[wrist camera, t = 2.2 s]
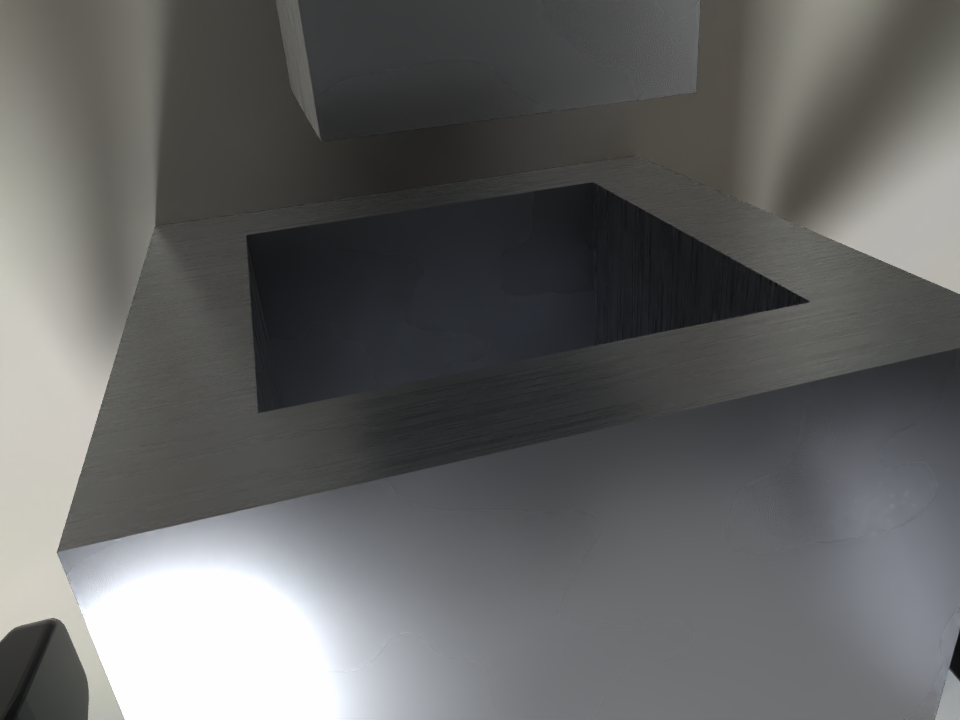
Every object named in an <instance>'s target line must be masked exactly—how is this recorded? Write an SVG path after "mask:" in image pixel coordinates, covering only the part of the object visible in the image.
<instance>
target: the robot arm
mask: <svg viewBox="0 0 960 720" xmlns="http://www.w3.org/2000/svg"><path fill="white" fill-rule="evenodd" d="M949 669H950V671H951V672H952V673H953V674H954V675H955V676H956V678H957V679H958V680H959V681H960V630H959V634H958V637H957V641H956V645H955V648H954V652H953V656H952V659H951V663H950V667H949ZM88 704H89V690H88V682H87V678H86V674H85V671H84V669H83V667H82V664H81V662H80V660H79V657H78V655H77V653H76V650H75V648H74V646H73V643H72V641H71V639H70V636H69V634H68V632H67V629H66V627H65V625H64V624H63V623H62V622H61V621H60V620H58V619H55V618H50V619H46V620H42V621H38V622H34V623H30V624H25V625H21V626H19V627H16V628H14V629H13V630H11V631H10V632H9V633H8V634H7V635H6V636H5V637H4V638H3V639H2V640H1V641H0V720H88Z"/></svg>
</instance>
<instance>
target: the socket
mask: <svg viewBox="0 0 960 720" xmlns="http://www.w3.org/2000/svg"><path fill="white" fill-rule="evenodd" d="M57 554H58V556H59V559H60V561H61V563H62V566H63V568H64V571H65V573H66V576H67V578H68V581H69V583H70V585H71V588H72V590H73V593H74V595H75V598H76V600H77V602H78V605H79V607H80V610H81V612H82V615H83V617H84V620H85V622H86V624H87V627H88V629H89V632H90V634H91V637H92V639H93V642H94V644H95V646H96V649H97V651H98V654H99V656H100V659H101V661H102V663H103V666H104V668H105V671H106V673H107V676H108V678H109V681H110V683H111V685H112V688H113V690H114V693H115V695H116V698H117V700H118V703H119V705H120V707H121V710H122V712H123V715H124V717H125V720H935V718H936V714H937V710H938V707H939V703H940V699H941V696H942V692H943V688H944V685H945V681H946V678H947V674H948V670H949V667H950V663H951V659H952V656H953V652H954V648H955V645H956V641H957V637H958V634H959V630H960V294H958V293H956V292H953V291H951V290H949V289H946V288H944V287H942V286H939V285H937V284H935V283H932V282H930V281H928V280H925V279H923V278H920V277H918V276H916V275H913V274H911V273H909V272H906V271H904V270H902V269H899V268H897V267H895V266H892V265H890V264H888V263H885V262H883V261H881V260H878V259H876V258H874V257H871V256H869V255H867V254H864V253H862V252H860V251H857V250H855V249H853V248H850V247H848V246H846V245H843V244H841V243H839V242H836V241H834V240H832V239H829V238H827V237H825V236H822V235H820V234H818V233H815V232H813V231H811V230H808V229H806V228H804V227H801V226H799V225H797V224H794V223H792V222H790V221H787V220H785V219H783V218H780V217H778V216H776V215H773V214H771V213H769V212H766V211H764V210H762V209H759V208H757V207H755V206H752V205H750V204H747V203H745V202H743V201H740V200H738V199H736V198H733V197H731V196H729V195H726V194H724V193H722V192H719V191H717V190H715V189H712V188H710V187H708V186H705V185H703V184H701V183H698V182H696V181H694V180H691V179H689V178H687V177H684V176H682V175H680V174H677V173H675V172H673V171H670V170H668V169H666V168H663V167H661V166H659V165H656V164H654V163H652V162H649V161H647V160H645V159H642V158H640V157H638V156H631V157H624V158H617V159H610V160H604V161H597V162H590V163H583V164H576V165H570V166H563V167H556V168H549V169H542V170H536V171H529V172H522V173H515V174H508V175H502V176H495V177H488V178H481V179H474V180H468V181H461V182H454V183H447V184H440V185H434V186H427V187H420V188H413V189H406V190H400V191H393V192H386V193H379V194H372V195H366V196H359V197H352V198H345V199H339V200H332V201H325V202H318V203H311V204H305V205H298V206H291V207H284V208H277V209H271V210H264V211H257V212H250V213H243V214H237V215H230V216H223V217H216V218H209V219H203V220H196V221H189V222H182V223H175V224H169V225H162V226H155V228H154V232H153V235H152V238H151V242H150V245H149V248H148V252H147V255H146V258H145V262H144V265H143V268H142V272H141V275H140V278H139V281H138V285H137V288H136V291H135V295H134V298H133V301H132V305H131V308H130V311H129V315H128V318H127V321H126V325H125V328H124V331H123V335H122V338H121V341H120V345H119V348H118V351H117V355H116V358H115V361H114V364H113V368H112V371H111V374H110V378H109V381H108V384H107V388H106V391H105V394H104V398H103V401H102V404H101V408H100V411H99V414H98V418H97V421H96V424H95V428H94V431H93V434H92V437H91V441H90V444H89V447H88V451H87V454H86V457H85V461H84V464H83V467H82V471H81V474H80V477H79V481H78V484H77V487H76V491H75V494H74V497H73V501H72V504H71V507H70V511H69V514H68V517H67V520H66V524H65V527H64V530H63V534H62V537H61V540H60V544H59V547H58V550H57Z"/></svg>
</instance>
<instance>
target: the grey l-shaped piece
mask: <svg viewBox="0 0 960 720" xmlns="http://www.w3.org/2000/svg"><path fill="white" fill-rule="evenodd" d="M276 5H277V11H278V16H279V22H280V28H281V33H282V39H283V45H284V50H285V56H286V62H287V67H288V73H289V79H290V84H291V90H292V92H293V94H294V96H295V98H296V99H297V101H298V103H299V104H300V106H301V108H302V110H303V111H304V113H305V115H306V117H307V118H308V120H309V122H310V124H311V125H312V127H313V129H314V131H315V132H316V134H317V136H318V137H319V139H320V141H321V142H323V141H331V140H338V139H346V138H353V137H361V136H369V135H376V134H384V133H391V132H399V131H407V130H414V129H422V128H429V127H437V126H445V125H452V124H460V123H467V122H475V121H483V120H490V119H498V118H505V117H513V116H521V115H528V114H536V113H544V112H551V111H559V110H566V109H574V108H582V107H589V106H597V105H604V104H612V103H620V102H627V101H635V100H642V99H650V98H658V97H665V96H673V95H680V94H688V93H696V84H697V63H698V42H699V21H700V0H276Z"/></svg>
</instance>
